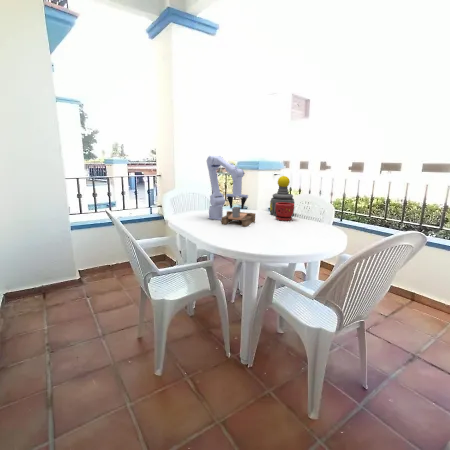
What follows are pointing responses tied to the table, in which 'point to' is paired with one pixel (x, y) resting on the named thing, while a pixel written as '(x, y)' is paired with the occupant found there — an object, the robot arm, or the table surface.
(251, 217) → the frame
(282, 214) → the plant pot
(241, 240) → the table surface
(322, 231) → the table surface
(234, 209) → the stone
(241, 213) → the trapdoor
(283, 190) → the decorative lamp
